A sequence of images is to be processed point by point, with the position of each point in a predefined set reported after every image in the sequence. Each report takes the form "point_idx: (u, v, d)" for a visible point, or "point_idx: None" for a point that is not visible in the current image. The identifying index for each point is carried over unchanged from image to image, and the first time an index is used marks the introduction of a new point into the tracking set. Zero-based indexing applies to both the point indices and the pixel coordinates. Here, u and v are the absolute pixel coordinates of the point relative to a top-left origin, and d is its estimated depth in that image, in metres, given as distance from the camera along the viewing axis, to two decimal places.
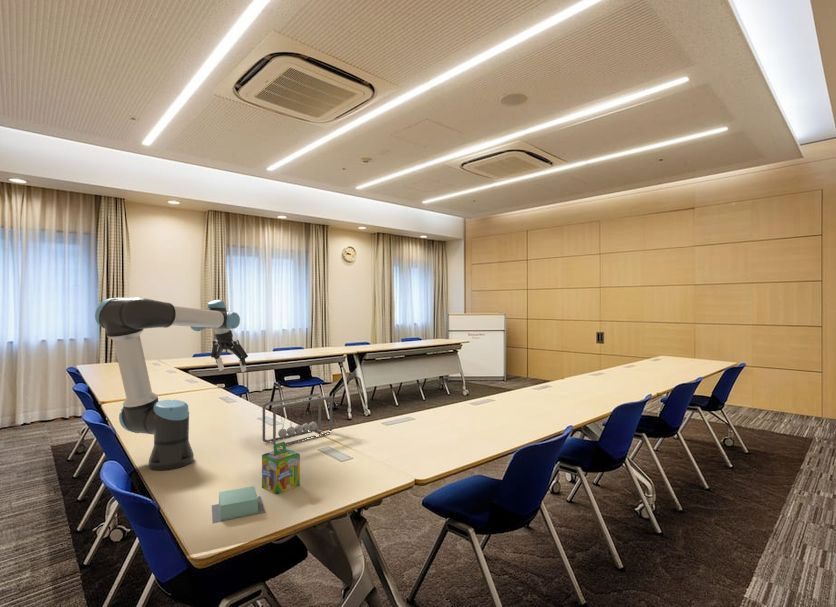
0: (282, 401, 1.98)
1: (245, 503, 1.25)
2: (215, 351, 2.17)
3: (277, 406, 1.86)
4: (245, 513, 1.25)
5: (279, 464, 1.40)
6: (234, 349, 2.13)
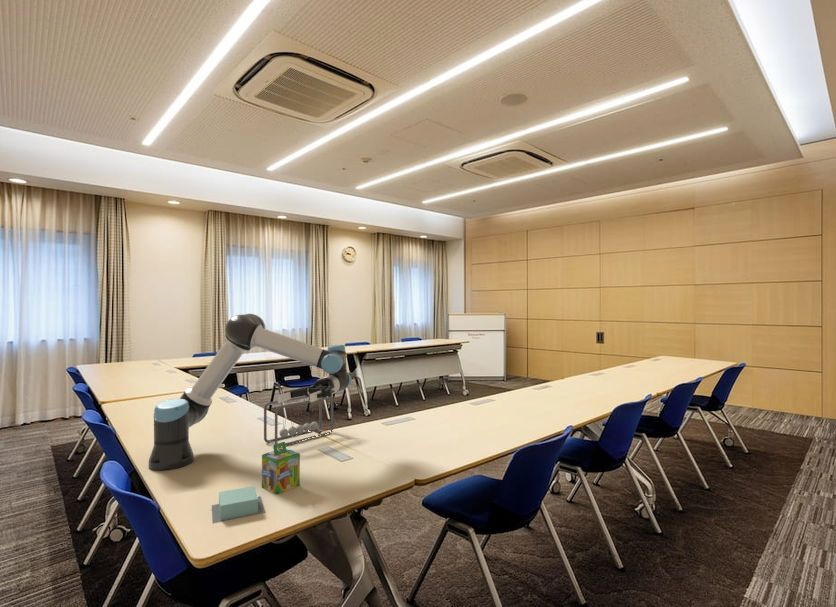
0: None
1: (245, 503, 1.25)
2: None
3: (279, 406, 1.86)
4: (245, 513, 1.25)
5: (279, 464, 1.40)
6: None
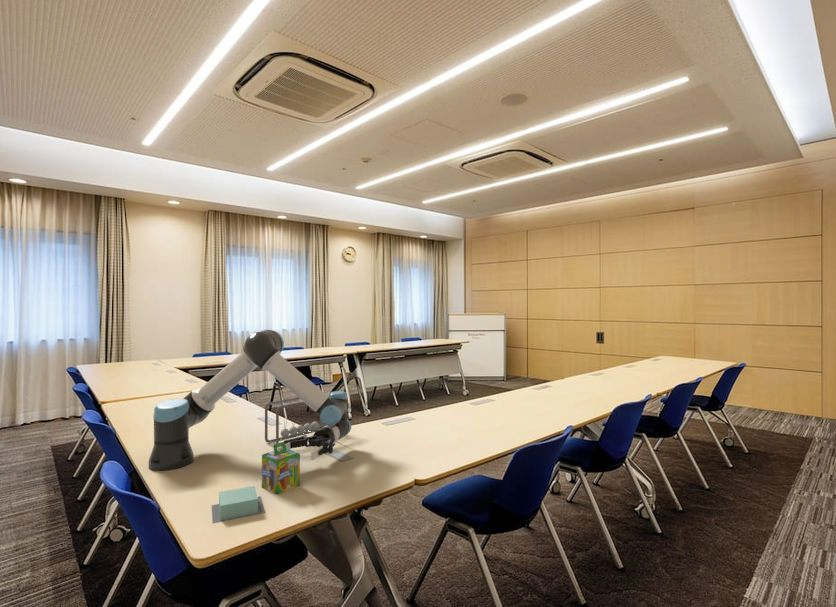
0: (284, 401, 1.98)
1: (245, 503, 1.25)
2: None
3: (280, 406, 1.86)
4: (245, 513, 1.25)
5: (279, 464, 1.40)
6: (324, 443, 1.62)
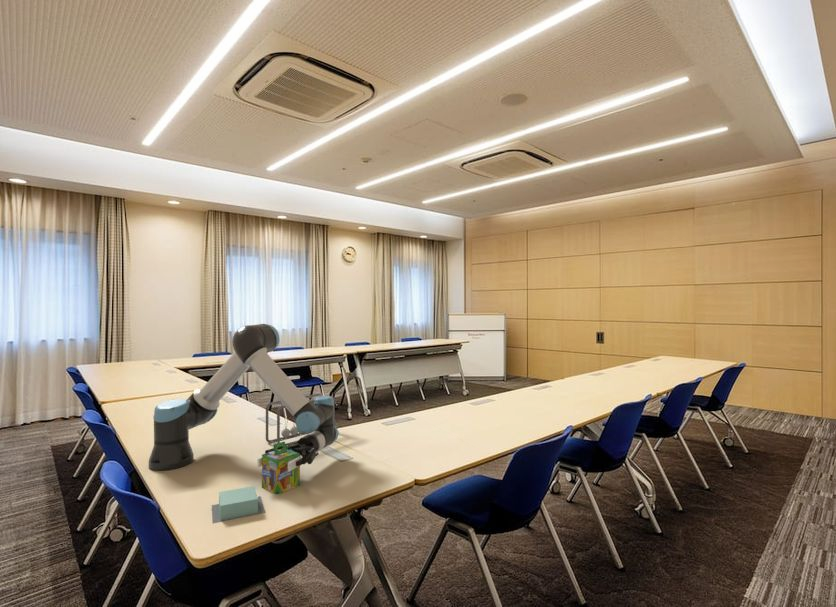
0: None
1: (245, 503, 1.25)
2: None
3: (281, 406, 1.86)
4: (245, 513, 1.25)
5: (280, 464, 1.40)
6: None
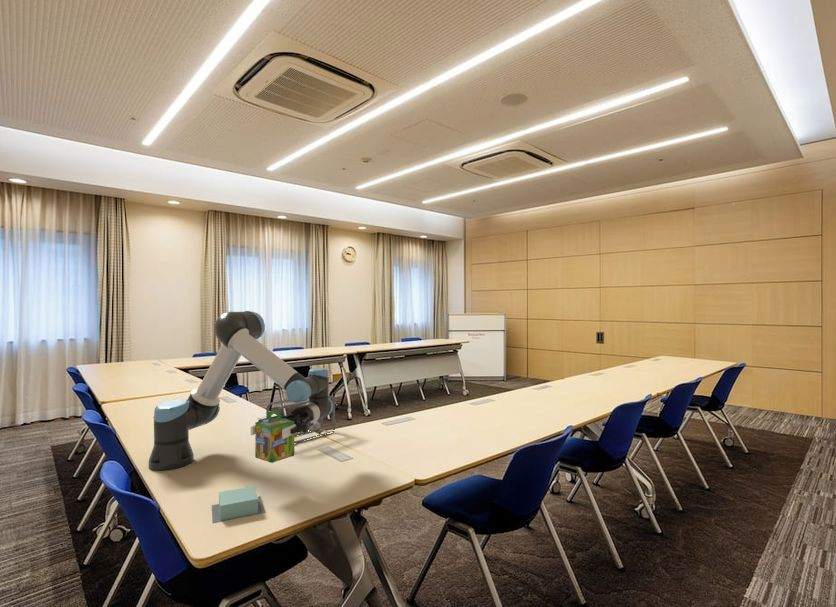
0: (285, 401, 1.98)
1: (245, 503, 1.25)
2: None
3: (282, 406, 1.86)
4: (245, 513, 1.25)
5: (274, 431, 1.36)
6: None
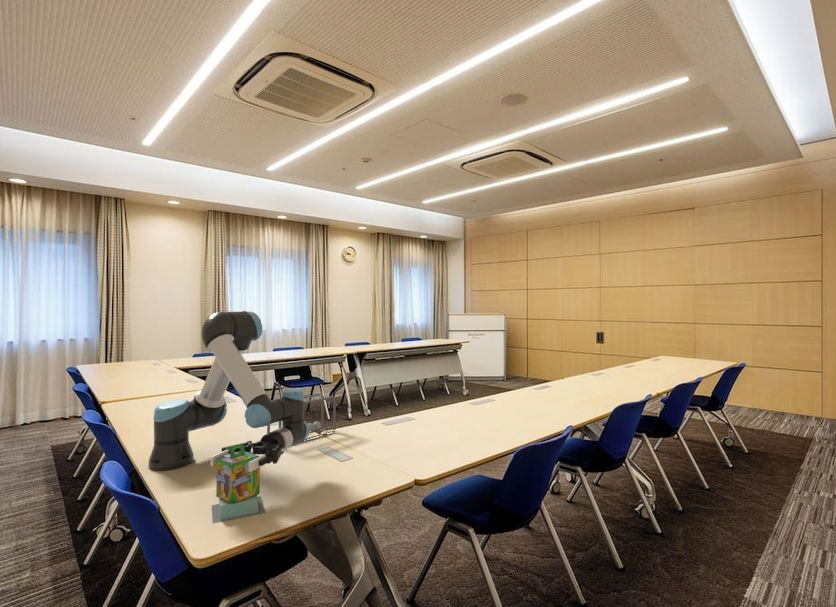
0: None
1: (245, 503, 1.25)
2: None
3: None
4: (245, 513, 1.25)
5: (235, 469, 1.24)
6: None
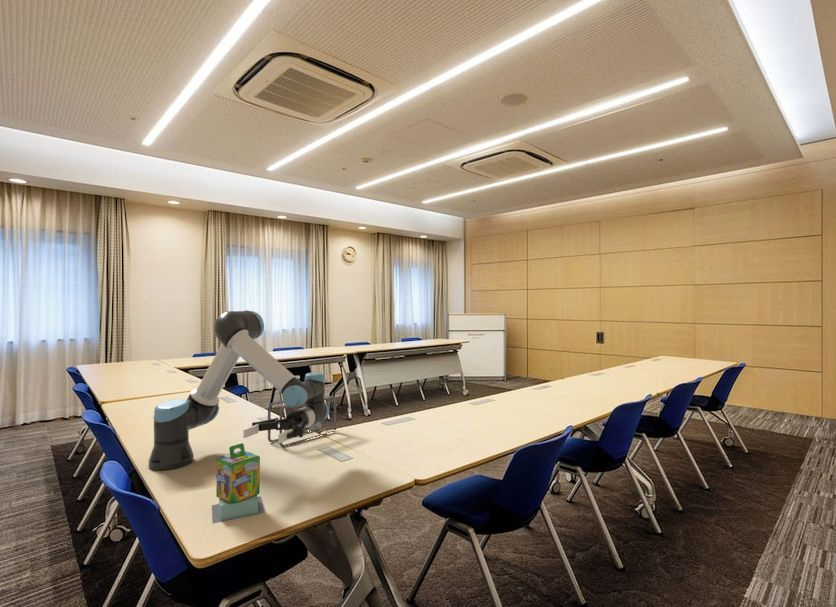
0: None
1: (245, 503, 1.25)
2: None
3: (283, 406, 1.86)
4: (245, 513, 1.25)
5: (235, 469, 1.24)
6: (295, 426, 1.50)
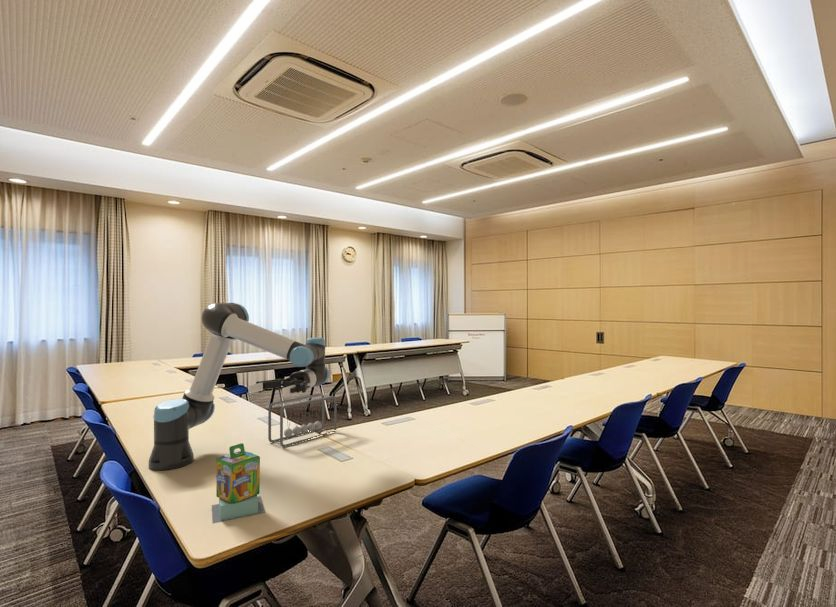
0: (287, 401, 1.98)
1: (245, 503, 1.25)
2: None
3: (284, 406, 1.86)
4: (245, 513, 1.25)
5: (235, 469, 1.24)
6: None
